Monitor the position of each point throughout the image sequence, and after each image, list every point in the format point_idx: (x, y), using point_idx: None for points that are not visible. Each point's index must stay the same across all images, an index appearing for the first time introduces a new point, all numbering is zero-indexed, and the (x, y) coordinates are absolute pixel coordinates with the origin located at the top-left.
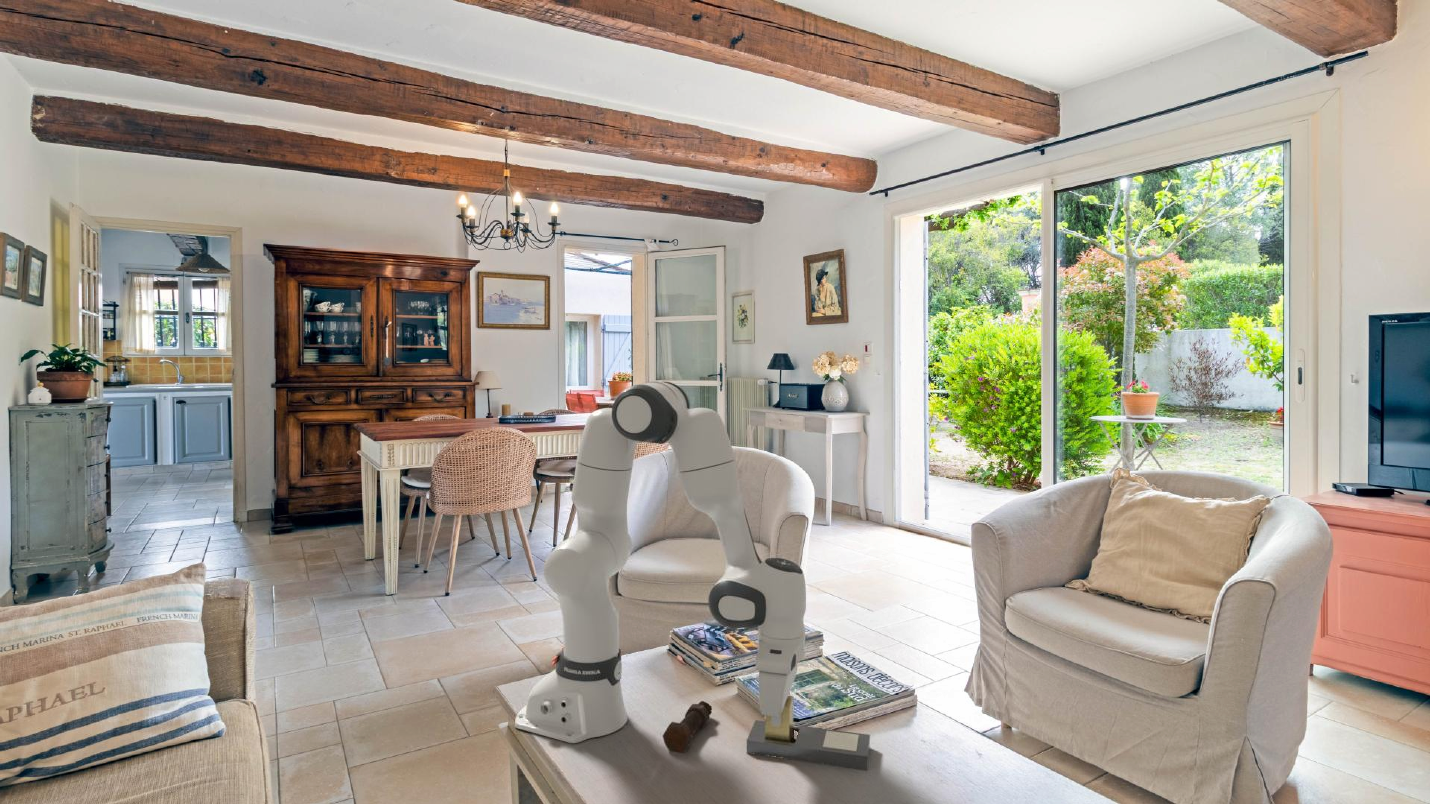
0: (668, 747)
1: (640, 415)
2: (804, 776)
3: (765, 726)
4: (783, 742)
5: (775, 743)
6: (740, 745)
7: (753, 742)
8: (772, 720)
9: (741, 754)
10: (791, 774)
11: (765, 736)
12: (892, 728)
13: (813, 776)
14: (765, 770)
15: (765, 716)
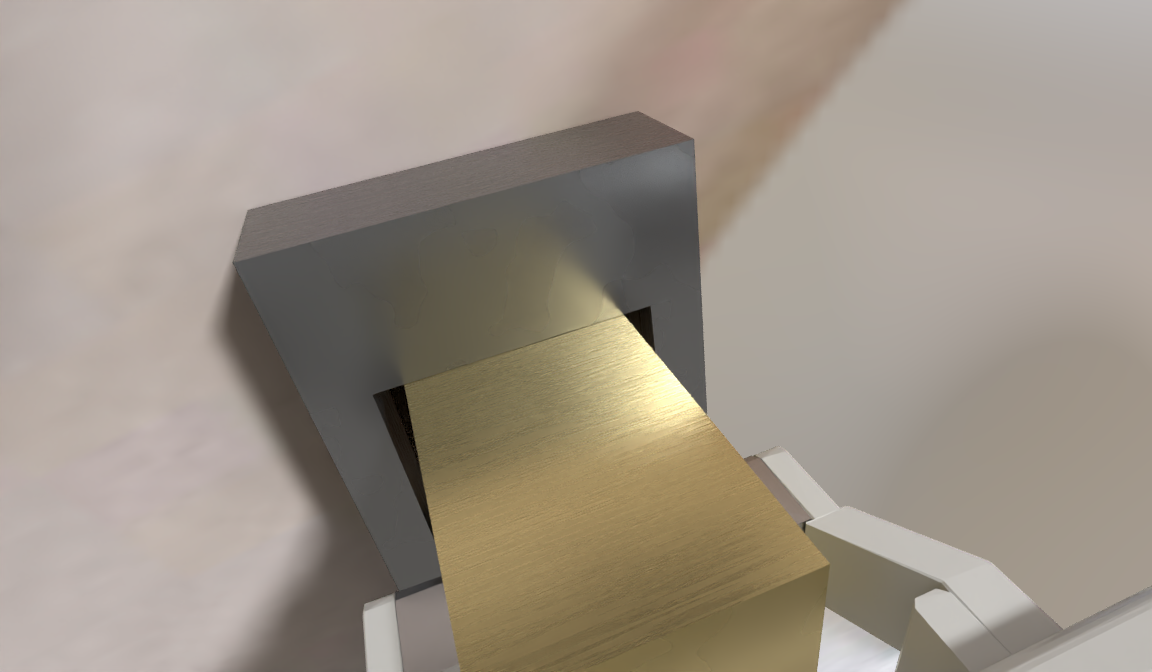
0: None
1: None
2: (249, 645)
3: (419, 461)
4: (416, 526)
5: (363, 492)
6: (350, 81)
7: (266, 325)
8: (371, 664)
9: (195, 172)
10: (211, 595)
11: (406, 394)
12: (863, 634)
13: (286, 669)
14: (111, 462)
15: (437, 551)
